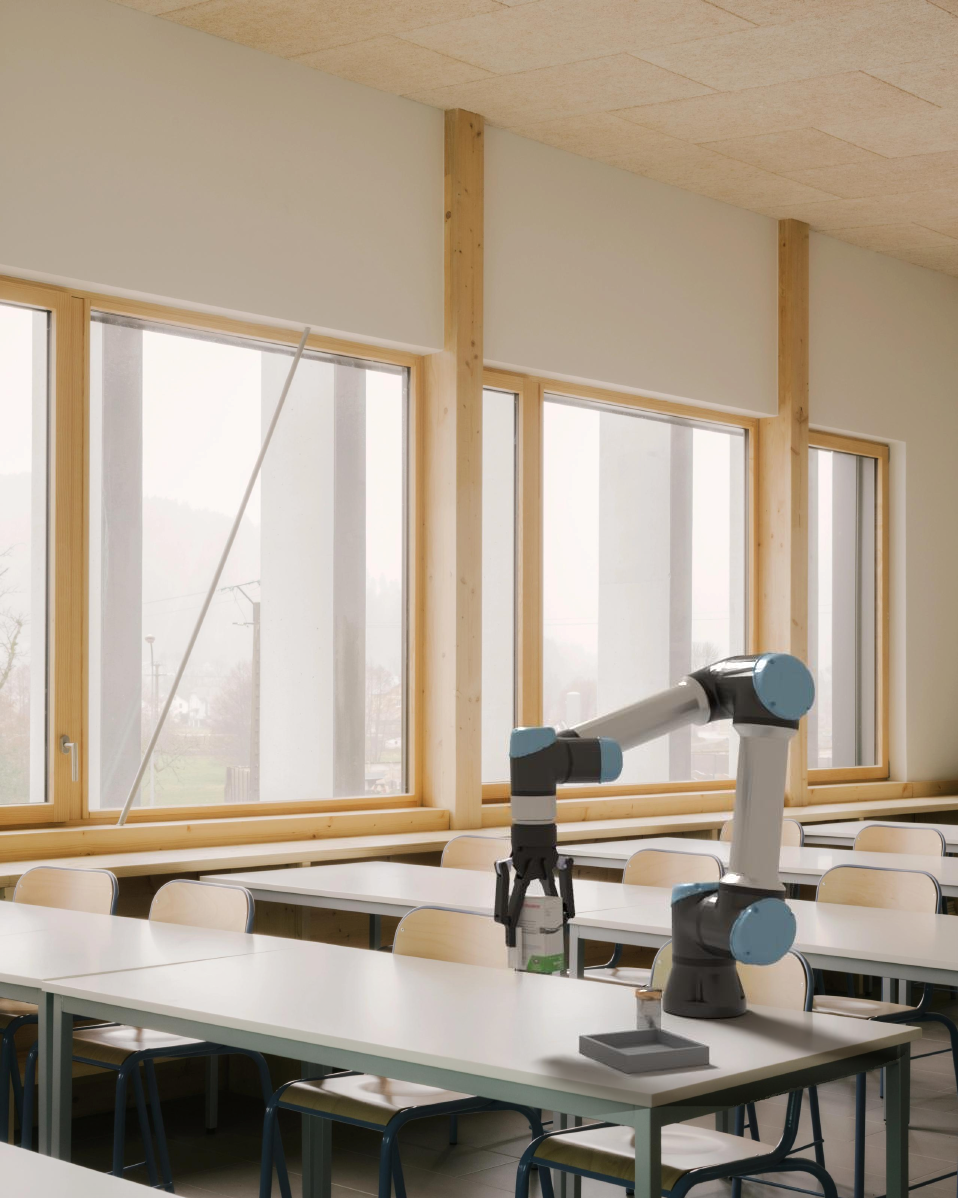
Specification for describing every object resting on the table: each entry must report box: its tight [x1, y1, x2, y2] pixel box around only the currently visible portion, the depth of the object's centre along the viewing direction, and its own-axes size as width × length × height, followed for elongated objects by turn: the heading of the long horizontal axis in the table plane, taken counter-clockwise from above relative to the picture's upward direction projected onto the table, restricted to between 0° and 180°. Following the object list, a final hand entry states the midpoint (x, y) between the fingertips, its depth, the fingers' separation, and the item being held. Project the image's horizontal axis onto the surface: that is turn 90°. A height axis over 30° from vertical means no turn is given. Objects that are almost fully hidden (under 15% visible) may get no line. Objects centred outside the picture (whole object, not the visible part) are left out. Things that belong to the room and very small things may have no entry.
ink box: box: [507, 893, 565, 974], centre depth 228 cm, size 9×5×12 cm, turn 46°
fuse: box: [634, 986, 663, 1030], centre depth 233 cm, size 4×4×8 cm
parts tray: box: [578, 1028, 710, 1074], centre depth 219 cm, size 15×15×3 cm
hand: (535, 965), depth 228 cm, fingers closed on ink box, 6 cm apart
